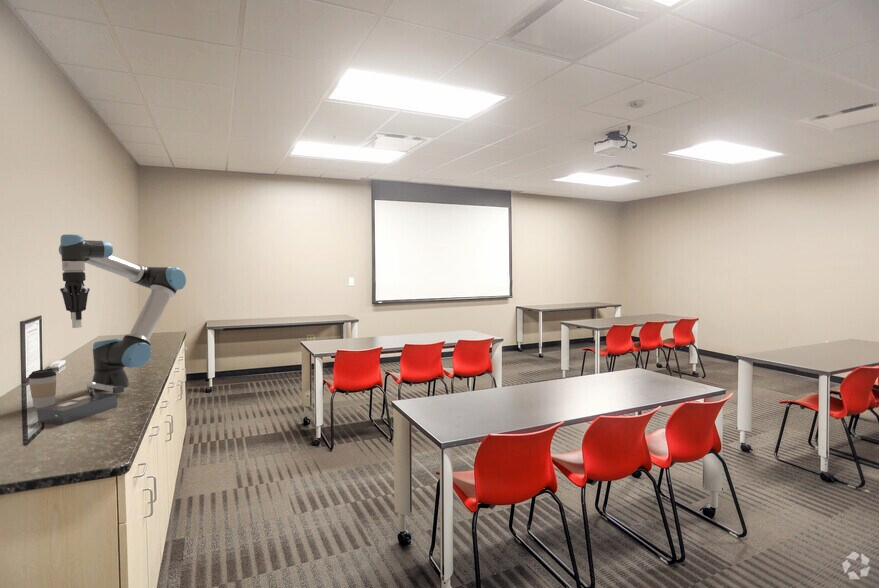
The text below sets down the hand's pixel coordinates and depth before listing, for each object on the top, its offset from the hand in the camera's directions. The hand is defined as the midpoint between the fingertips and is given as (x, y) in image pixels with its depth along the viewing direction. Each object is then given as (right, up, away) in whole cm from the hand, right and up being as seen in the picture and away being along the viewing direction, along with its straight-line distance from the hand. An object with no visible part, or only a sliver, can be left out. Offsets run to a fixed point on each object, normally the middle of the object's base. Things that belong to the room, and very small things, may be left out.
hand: (77, 327), depth 195 cm
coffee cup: (-13, -33, -1) cm, 35 cm away
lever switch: (+11, -33, -13) cm, 37 cm away
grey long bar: (+17, -25, -7) cm, 31 cm away
